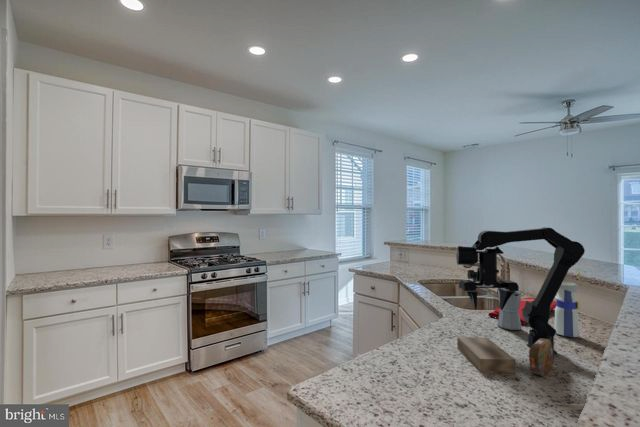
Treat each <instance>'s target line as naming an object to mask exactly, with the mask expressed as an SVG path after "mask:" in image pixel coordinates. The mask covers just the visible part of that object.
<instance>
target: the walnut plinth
mask: <svg viewBox="0 0 640 427" xmlns="http://www.w3.org/2000/svg"><path fill="white" fill-rule="evenodd" d="M456 340H457V343H456V344H457V346H456V347H457V350H458V351H459V352H460V354H462V355H463V356H464V357H465V359H466V360H468V362H469V363H470V364H471V365H472V366H473V367H474V368H475V369H476V370H477V371H478V372H479V373H482V374H516V359H515V358H514V357H513V356H511V355H510V354H509V353H508V352H506V351H505V350H504V349H503V348H501V347H500V346H499V345H498V344H496V343H495V342H494V341H492V340H491V339H490V338H488V337H480V336H478V337H477V336H476V337H475V336H474V337H472V336H471V337H470V336H468V337H467V336H466V337H464V336H463V337H461V336H459V337H458V336H457V339H456Z"/></svg>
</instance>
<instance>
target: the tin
mask: <svg viewBox="0 0 640 427" xmlns="http://www.w3.org/2000/svg"><path fill="white" fill-rule="evenodd" d="M554 350H555V347H554V348H553V343H552V341H551V340H550V339H544V338H540V339H538V340H537V341H536V342H535V343H534V344H533V345H532V346H531V347H530V348H529V351H528V358H529V369H530V372H531V374H534V375H537V376H541V377H545V376H546V375H547V373H548V372H549V371H551V369H552V368H553V366H554V362H555V361H554V360H555V353H554Z"/></svg>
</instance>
